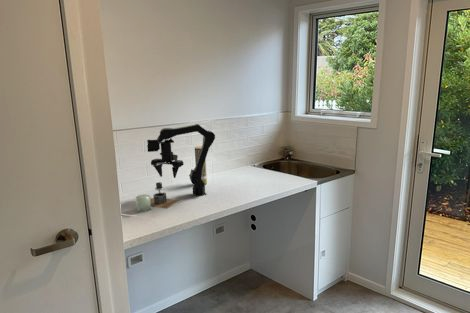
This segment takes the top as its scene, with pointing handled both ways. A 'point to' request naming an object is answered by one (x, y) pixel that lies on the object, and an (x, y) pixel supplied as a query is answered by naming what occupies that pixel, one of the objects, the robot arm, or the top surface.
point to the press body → (160, 198)
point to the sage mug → (143, 203)
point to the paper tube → (204, 176)
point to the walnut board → (166, 205)
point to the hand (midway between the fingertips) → (168, 177)
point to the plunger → (159, 187)
